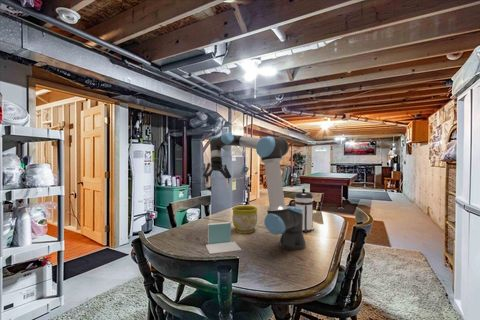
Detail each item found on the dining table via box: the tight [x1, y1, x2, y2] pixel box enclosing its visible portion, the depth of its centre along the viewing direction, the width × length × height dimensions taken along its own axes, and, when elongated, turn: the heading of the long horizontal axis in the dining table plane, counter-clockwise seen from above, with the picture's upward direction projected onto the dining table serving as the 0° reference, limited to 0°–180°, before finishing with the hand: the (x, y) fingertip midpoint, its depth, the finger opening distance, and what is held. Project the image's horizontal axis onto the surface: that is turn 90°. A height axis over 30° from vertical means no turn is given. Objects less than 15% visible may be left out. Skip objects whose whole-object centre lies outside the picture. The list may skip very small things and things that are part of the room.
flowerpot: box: [231, 205, 258, 234], centre depth 176 cm, size 18×18×16 cm
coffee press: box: [288, 188, 315, 234], centre depth 177 cm, size 17×16×30 cm
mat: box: [205, 241, 242, 255], centre depth 143 cm, size 14×18×1 cm
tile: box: [207, 221, 232, 244], centre depth 152 cm, size 3×14×12 cm, turn 108°
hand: (218, 187), depth 163 cm, fingers open, 13 cm apart
